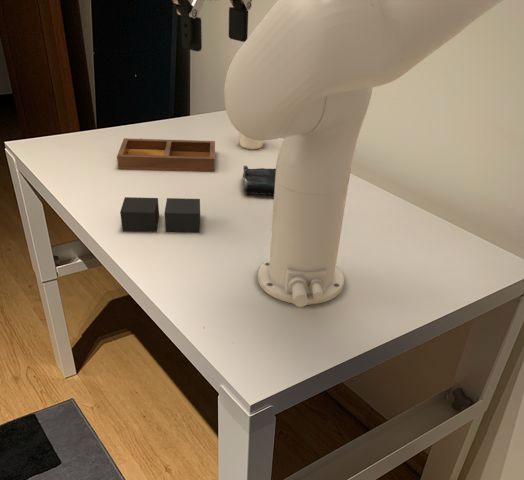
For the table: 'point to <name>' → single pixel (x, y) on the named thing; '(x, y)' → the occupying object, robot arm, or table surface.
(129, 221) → the pad left
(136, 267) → the table surface
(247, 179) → the electronic device
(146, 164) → the wooden tray
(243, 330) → the table surface
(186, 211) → the pad right
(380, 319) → the table surface
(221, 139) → the table surface
